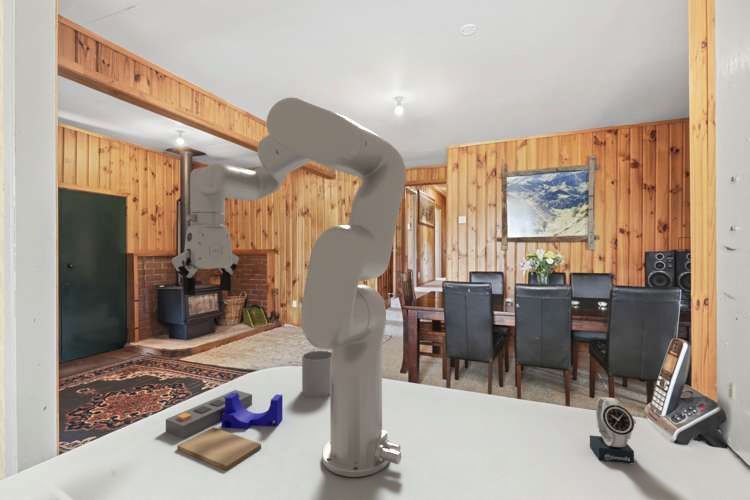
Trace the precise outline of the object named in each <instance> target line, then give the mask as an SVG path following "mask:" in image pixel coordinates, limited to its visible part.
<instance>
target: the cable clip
mask: <svg viewBox="0 0 750 500" xmlns="http://www.w3.org/2000/svg"><path fill="white" fill-rule="evenodd" d="M283 417H284V416H283V394H278V393H277V394H275V395H274V396H273V397H272V398H271V399H270V405H269V407H268V410H266V411H265V412H261V413H260V412H259V413H256V412H252V411H250V410H248V409H247V408H244V407H243V405H242V404H241V402H240V400H239V396H238V393H231V394H230V395H228V396H227V397H226V398H225V412H224V413H223V414H222V421H221V428H222V429H223V428H224V429H239V430H240V429H241V430H248V429H250V427H251V426H253V427H254V426H255V427H256V426H257V427H275V428H276V427H277V428H278V427H279V425H280V424H281V422H282V421H283Z"/></svg>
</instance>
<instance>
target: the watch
mask: <svg viewBox="0 0 750 500" xmlns="http://www.w3.org/2000/svg"><path fill="white" fill-rule="evenodd" d="M595 415H596V416H595V417H596V421H597V424H596V426H597V428H598V432H599V433H600V435H601V436H600V435H589V448H590V449H591V451H592V452H593V454H594V455H595V457H596V459H597V460H598V461H601V462H611V463H619V462H620V463H621V462H622V463H621V464H630V463H634V464H635V451H634V449H632V447H631V446H630V445H629V444H628V442H629V440H630V439H631V436H632V434H633V433H632V432H633V431H634V428H635V425H636V424H637V421H636V419H635V418H634V417H633V415H632V414H631V412H630V411H629V410H627V409H626V407H625V406H624V404H623V403H621V402H620V401H619V399H617V398H615V397H606V396H604V397H603V396H600V397H598V399H597V401H596V411H595Z"/></svg>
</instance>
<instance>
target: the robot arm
mask: <svg viewBox="0 0 750 500" xmlns="http://www.w3.org/2000/svg"><path fill="white" fill-rule="evenodd" d="M266 117H267V118H266V122H265V123H266V129H267V132H268V134H267V135H266V136H264V137H262V138H261V139H260V140H259V142H258V144H257V151H256V153H257V155H258V160H259V162H260V163H261V165H262V166H259V167H258V168H255V169H252V170H251V169H250V168H244V167H241V166H236V165H232V164H231V165H230V164H226V163H223V162H214V163H211V164H209V165H207V166H206V167H200V168H195V169H193V170H191V172H190V175H189V177H190V179H189V183H190V185H189V187H190V188H189V189H190V191H189V192H190V193H189V195H190V199H189V200H190V213H189V214H187V215H186V217H185V219H186V221H187V222H189V224H190V226H187V230H186V234H185V241H184V251H183V252H182V253H180V254H178V255H176V256H174V257H172V259H171V263H172V265H173V267H174V269H175V271H176V272H177V273H178V274H179V276H180V277H181V278H182V281H183V282H182V289H183V295H185V296H195V295H196V278H195V277H193V276H194V275H195V274H196V272H197V271H198V270H199V269H200V270H209V269H210V270H211V269H213V270H214V269H218V270H219V271H220V272H221V274H220V276H219V277H220V278H219V289H220V291H225V292H228V291H231V289H232V287H231V286H232V275H233V274H234V271H235V270H236V268H237V265H238V262H239V260H240V257H239V256H238V255H236V254H234V253H233V250H232V241H231V235H230V230H229V228H228V227H226V214H225V213H226V199H232V200H233V199H234V200H240V201H244V202H245V201H247V202H252V201H253V202H254V201H259V200H261V199H263V198H266V197H267V196H269V195H271V194H274V193H275V192H277V191H279V189H280V188H281V187H282V185H283V184H284V182H285V180H286V177H287V175H288V174H289V173H292V172H294V171H295V170H297V169H299V168H301V167H303V166H306V165H307V164H309V163H311V162H315V163H317V164H319V165H320V166H323V167H326V168H329V169H331V170H335V171H338V172H341V173H344V174H346V175H350V176H353V177H357V178H359V179H360V180H361V184H360V185H359V187H358V189H357V191H356V193H355V195H354V197H353V200H352V204H351V210H350V216H349V219H348V224H339V225H334V226H330V227H329V228H327V229H325V230H324V231H323V232H322V233H320V235H319V236H318V237H317V239H316V241H315V242H314V243H313V247H312V249H311V251H310V252H311V253H310V254H309V255H310V256H309V260H308V266H307V273H306V278H305V284H304V290H303V296H302V300H301V301H302V302H301V307H300V308H301V309H300V325H301V330H302V332H303V335H304V337H305V338H306V340H307V341H308V343H309V344H310V345H312V346H313V347H315V348H317V349H319V350H320V349H321V350H331V362H330V394H329V396H330V399H329V403H330V404H329V405H330V407H329V408H330V409H329V411H330V415H329V416H330V419H329V420H330V425H329V427H330V428H329V429H330V440H329V441H328V442H327V443H325V445H324V446H323V448H322V452H321V453H322V454H321V460H322V463H323V466H325V468H326V469H327V470H329V471H330V472H332V473H334V474H336V475H340V476H342V477H349V478H350V477H351V478H358V477H365V476H366V477H367V476H370V475H371V476H372V475H373V474H375V473H378V472H380V471H381V470H383V469H384V468H385V467H386V466H387V465H388V464H389V463H392V464H395V465H400V463H401V460H402V452H401V445H400V444H398V443H394V442H390V441H389V440H388V431H386V430H383V345H384V344H383V343H384V337H385V336H384V335H385V329H386V321H387V309H386V304H385V301H384V298H383V297H382V295H381V294H380V293H379V292H378V291H377V290H376V289H375V288H373V287H371V286H369V285H364V284H360V282H365V281H369V280H373V279H378V278H379V277H381V276H382V275H383V274H384V273H385V272H386V271H387V270H388V267H389V266H390V265H389V264H390V261H391V255H392V252H393V251H392V250H393V245H394V240H395V236H396V235H395V234H396V229H397V226H398V225H397V224H398V217H399V212H400V207H401V203H402V199H403V195H404V189H405V184H406V179H407V178H406V165H405V162H404V158H403V157H402V155H401V153H400V152H399V151H398V150H397V149H396V147H394V145H392V144H391V143H389V142H388V141H387V140H385V139H384V138H383V137H381V136H380V135H378V134H376V133H375V132H373V131H371V130H369V129H368V128H365V127H363V126H362V125H360V124H358V123H357V122H355V121H354V120H352V119H349V118H348V117H346V116H344V115H341V114H339V113H336V112H334V111H331V110H328V109H327V108H323V107H320V106H319V105H318V106H317V105H315V104H312V103H310V102H307V101H304V100H303V99H301V98H297V97H286V98H282V99H281V100H279V101H277V102H276V103H274V104H273V106H272V107H271V108H270V110H269V111H268V114H267V116H266ZM183 262H184V266H183Z"/></svg>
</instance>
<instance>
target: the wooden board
mask: <svg viewBox="0 0 750 500" xmlns="http://www.w3.org/2000/svg"><path fill="white" fill-rule="evenodd" d="M176 445H177V447H176V448H177V449H176V450H178V451H180V452H182V453H183V454H187V455H189V456H192V457H194V458H196V459H198V460H201V461H203V462H205V463H208V464H211V465H212V466H215V467H217V468H220V469H222V470H224V471H228V470H230V469H232V468H233V467H235V466H236V465H237V464H239V463H240V462H242V461H244V460H245V459H246V458H248V457H250V456H251V455H253V454H254V453H256V452H258V451H259V450H261V449H262V443H259V442H256V441H254V440H251V439H249V438H245V437H243V436H240V435H237V434H234V433H231V432H229V431H226V430H223V429H220V428H217V427H215V426H213V427H211V428H209V429H207V430H205V431H203V432H200V433H199V434H197V435H195V436H193V437H191V438H189V439H187V440H185V441H183V442H181V443H180V444H176Z"/></svg>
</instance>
